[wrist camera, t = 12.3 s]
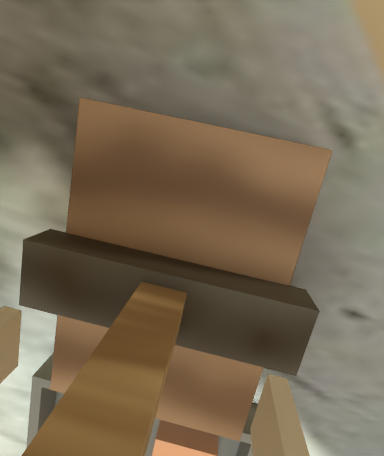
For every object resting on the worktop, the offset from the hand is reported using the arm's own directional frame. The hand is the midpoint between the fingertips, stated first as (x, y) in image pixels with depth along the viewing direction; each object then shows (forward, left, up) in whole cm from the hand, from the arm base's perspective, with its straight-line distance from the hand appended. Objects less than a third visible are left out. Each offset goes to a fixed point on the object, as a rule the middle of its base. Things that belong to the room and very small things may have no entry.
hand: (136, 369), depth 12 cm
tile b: (+16, +4, -8) cm, 18 cm away
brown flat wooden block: (0, 0, -11) cm, 11 cm away
